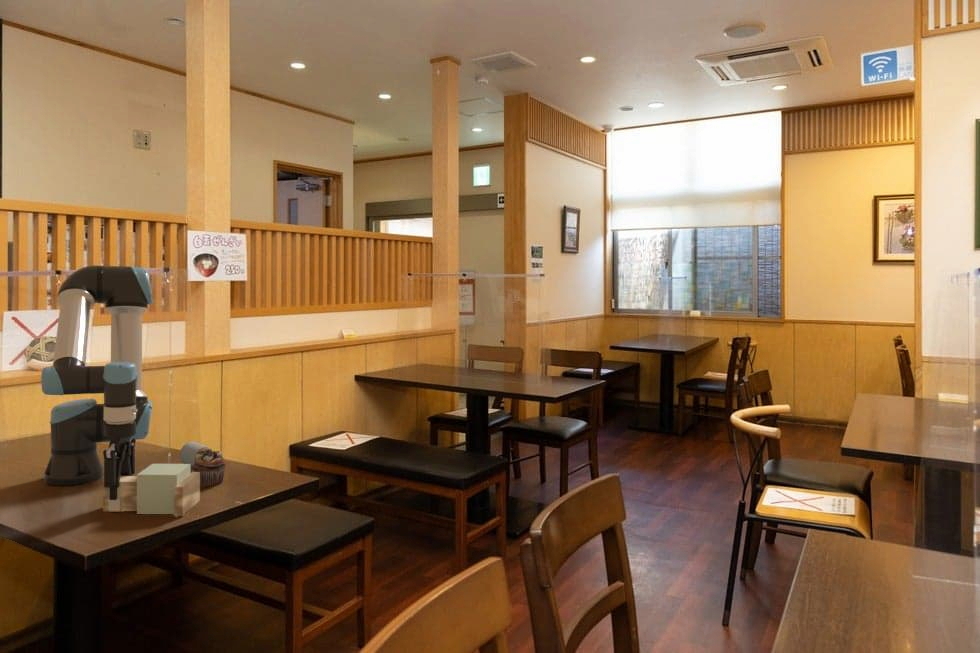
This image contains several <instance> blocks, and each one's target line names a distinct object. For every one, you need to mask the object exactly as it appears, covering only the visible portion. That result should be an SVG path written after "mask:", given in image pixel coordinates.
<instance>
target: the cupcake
mask: <svg viewBox="0 0 980 653" xmlns="http://www.w3.org/2000/svg"><path fill="white" fill-rule="evenodd" d="M204 452H206V454H205V453H204ZM196 458H197V459H196V460H195V464H194V465H193V467H192V466H191V473H192V472H200V487H201V486H211V487H215V485H216V486H218V485H221V484H222V483H223V482H224V478H225V472H226V468H227V466H226V462H225V458H224V457H223V452H221V451H219V450H217V451H215V450H213V449H211V448H210V449H209V450H207V451H201V452H199V453H198V454H197V455H196Z"/></svg>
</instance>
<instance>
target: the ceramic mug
mask: <svg viewBox="0 0 980 653" xmlns="http://www.w3.org/2000/svg"><path fill="white" fill-rule="evenodd" d="M209 449H211V448H210V447H208V445H207V446H206V445H204V444H202V443H198V442H196V441H194V440H193V441H188V442H186V443H185V444H183V446H182V447H181V448H180V451H179V455H178V456H179V461H180V462H181V464H191V468H192V467H193V465H194V464H195V460H196V459H197V458H196V455H197V454H198V453H199V452H201V451H207V450H209ZM204 453H205V454H206V452H204Z"/></svg>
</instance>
